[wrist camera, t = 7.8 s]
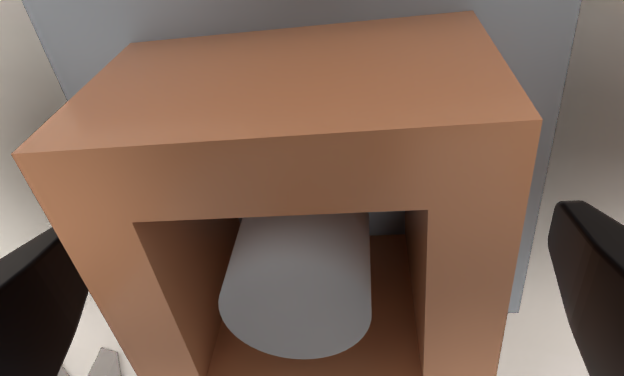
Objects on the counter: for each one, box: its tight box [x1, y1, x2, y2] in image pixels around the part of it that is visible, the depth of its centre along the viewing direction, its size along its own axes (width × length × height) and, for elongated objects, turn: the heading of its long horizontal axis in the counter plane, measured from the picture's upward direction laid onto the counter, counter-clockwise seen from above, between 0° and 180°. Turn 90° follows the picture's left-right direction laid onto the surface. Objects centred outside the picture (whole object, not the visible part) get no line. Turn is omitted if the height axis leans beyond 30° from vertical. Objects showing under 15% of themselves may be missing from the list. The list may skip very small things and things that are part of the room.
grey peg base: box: [22, 0, 582, 359], centre depth 10 cm, size 10×10×6 cm
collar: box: [11, 11, 543, 376], centre depth 9 cm, size 6×6×4 cm
